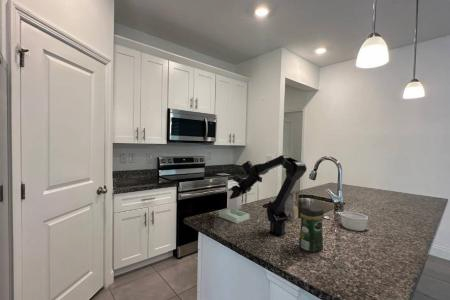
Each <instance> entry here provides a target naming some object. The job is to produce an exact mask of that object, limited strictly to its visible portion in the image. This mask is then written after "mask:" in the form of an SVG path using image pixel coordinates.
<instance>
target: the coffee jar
mask: <svg viewBox="0 0 450 300" xmlns="http://www.w3.org/2000/svg"><path fill="white" fill-rule="evenodd" d="M324 213H325V212H324V208H323V206H321V205H319V204H310V205H302V206H300V211H299V216H300V231H299V232H300V233H299V240H298V241H299V242H298V246H299V247H300V248H301V249H302V250H303V251H306V252H309V253H315V252H319V251H321V250H323V249H324V239H323V221H324Z"/></svg>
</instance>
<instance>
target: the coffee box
mask: <svg viewBox="0 0 450 300" xmlns="http://www.w3.org/2000/svg"><path fill="white" fill-rule="evenodd" d="M299 197H300V195H299V191H295V190H294V191H293V190H291V192H290V194H289V196H288V198H287V200H286V202H285V213H286V215H287V216H288V220H287V221H289V220H290V221H291V222H294V221H295V220H296V219H298V218H299Z"/></svg>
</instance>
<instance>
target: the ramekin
mask: <svg viewBox="0 0 450 300" xmlns="http://www.w3.org/2000/svg"><path fill="white" fill-rule="evenodd" d="M368 220H369V217H368V216H367V215H365V214H363V213H362V214H361V213H359V212H353V211H341V212H340V222H341V223H340V224H341V225H342V226H343V228H346V229H348V230H351V231H354V232H355V231H357V232H363V231H365V230H366V229H367V225H368Z"/></svg>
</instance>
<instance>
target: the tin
mask: <svg viewBox="0 0 450 300" xmlns="http://www.w3.org/2000/svg"><path fill="white" fill-rule="evenodd" d="M231 188H232V187H230V188H227V209H229V210H235V211H237V210H238V211H240V209H241V208H242V195H241V196H239V197H236V198H233V199H230V196H231V194H232V193H233V191H232V190H231Z"/></svg>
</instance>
